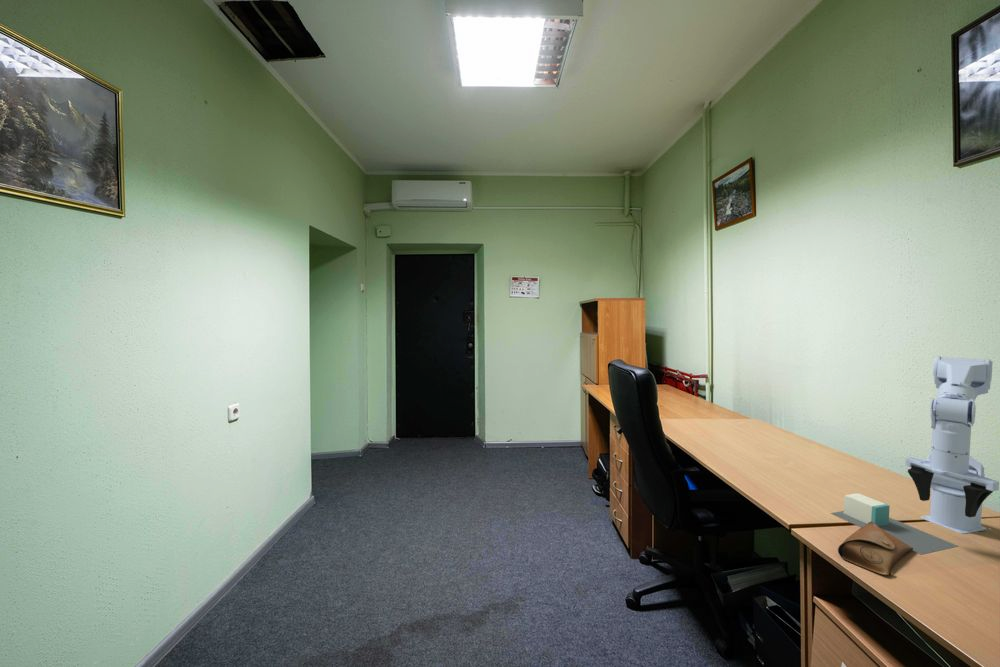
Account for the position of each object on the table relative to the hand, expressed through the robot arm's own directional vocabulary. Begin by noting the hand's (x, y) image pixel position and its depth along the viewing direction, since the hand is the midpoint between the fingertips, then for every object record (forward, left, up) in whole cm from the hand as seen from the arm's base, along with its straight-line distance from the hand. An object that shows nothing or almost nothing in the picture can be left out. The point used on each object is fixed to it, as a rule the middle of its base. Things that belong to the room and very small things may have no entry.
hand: (946, 507), depth 88 cm
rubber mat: (+4, -8, -9) cm, 13 cm away
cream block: (+4, -10, -6) cm, 12 cm away
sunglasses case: (+19, -2, -9) cm, 21 cm away
